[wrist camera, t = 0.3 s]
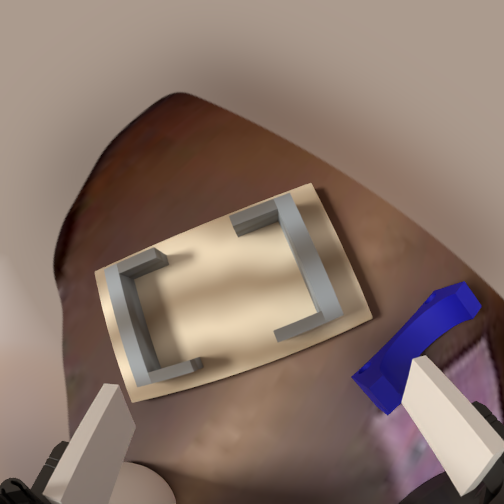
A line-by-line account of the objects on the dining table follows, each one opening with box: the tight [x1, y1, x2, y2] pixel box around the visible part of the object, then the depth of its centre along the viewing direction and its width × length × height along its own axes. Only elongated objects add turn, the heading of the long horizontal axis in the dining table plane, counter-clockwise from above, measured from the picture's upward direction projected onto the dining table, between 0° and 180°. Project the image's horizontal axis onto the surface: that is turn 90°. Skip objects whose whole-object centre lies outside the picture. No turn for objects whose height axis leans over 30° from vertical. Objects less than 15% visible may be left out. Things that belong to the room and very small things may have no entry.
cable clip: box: [352, 281, 482, 415], centre depth 21 cm, size 12×4×6 cm, turn 129°
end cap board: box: [95, 183, 373, 403], centre depth 25 cm, size 14×24×4 cm, turn 111°
